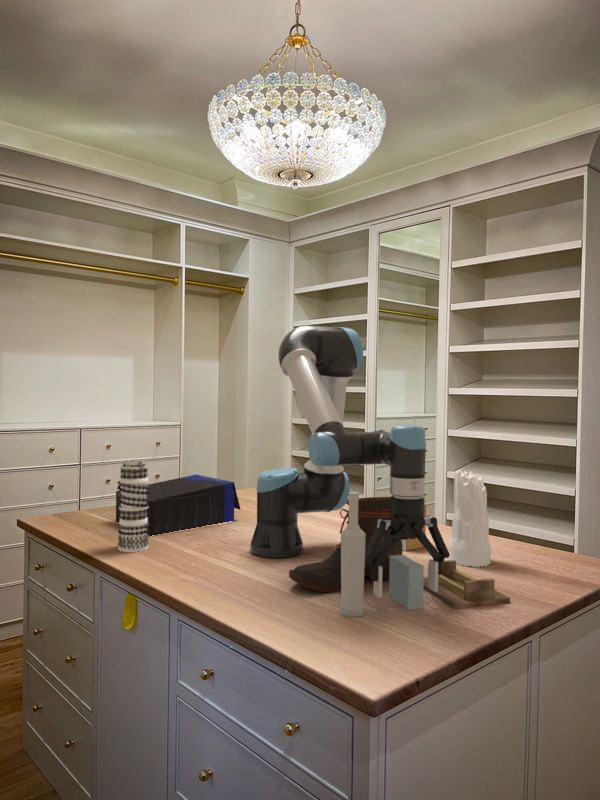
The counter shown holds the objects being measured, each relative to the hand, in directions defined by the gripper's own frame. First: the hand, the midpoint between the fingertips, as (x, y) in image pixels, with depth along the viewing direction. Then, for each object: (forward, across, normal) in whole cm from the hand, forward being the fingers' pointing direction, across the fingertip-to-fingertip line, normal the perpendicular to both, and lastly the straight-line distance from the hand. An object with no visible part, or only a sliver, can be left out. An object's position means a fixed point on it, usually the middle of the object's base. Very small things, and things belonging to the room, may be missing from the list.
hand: (405, 592), depth 130 cm
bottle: (+2, -14, -3) cm, 14 cm away
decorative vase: (+2, +32, +23) cm, 40 cm away
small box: (+2, +23, +41) cm, 47 cm away
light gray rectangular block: (+2, 0, 0) cm, 2 cm away
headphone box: (+2, -38, +92) cm, 100 cm away
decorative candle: (+2, -55, +61) cm, 82 cm away
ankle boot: (+2, -7, +17) cm, 18 cm away
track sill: (+2, +15, +2) cm, 15 cm away
